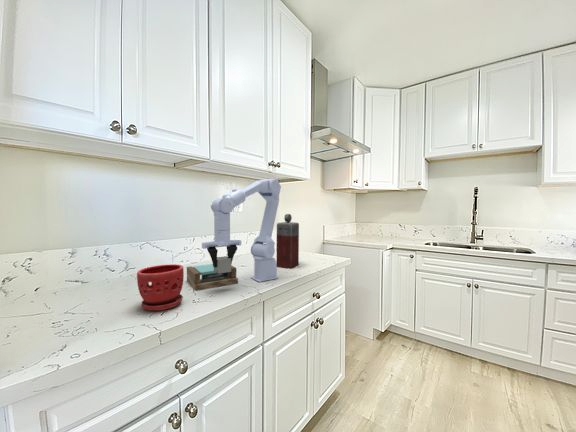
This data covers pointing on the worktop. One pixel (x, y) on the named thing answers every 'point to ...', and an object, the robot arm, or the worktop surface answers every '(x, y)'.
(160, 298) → the plant pot
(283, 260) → the red lidded canister
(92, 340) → the worktop surface
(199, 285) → the hatch stand
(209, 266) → the hatch flap
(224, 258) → the granite block
